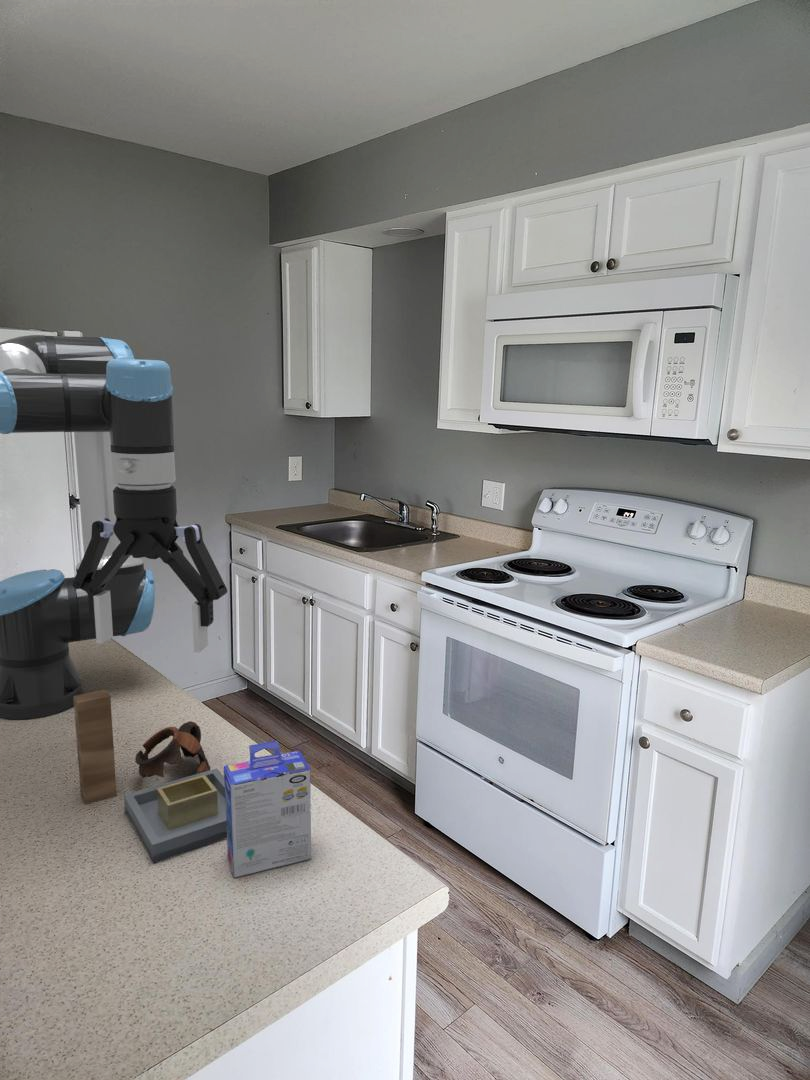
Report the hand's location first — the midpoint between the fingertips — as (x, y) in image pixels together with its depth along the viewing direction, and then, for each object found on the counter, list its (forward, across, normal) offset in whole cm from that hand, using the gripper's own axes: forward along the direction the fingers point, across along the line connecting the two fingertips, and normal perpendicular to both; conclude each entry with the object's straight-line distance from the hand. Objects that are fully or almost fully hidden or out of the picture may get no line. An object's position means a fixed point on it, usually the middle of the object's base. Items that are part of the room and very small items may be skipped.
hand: (152, 644), depth 96 cm
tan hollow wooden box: (+22, +6, -3) cm, 23 cm away
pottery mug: (+24, -1, +8) cm, 25 cm away
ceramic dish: (+23, +6, -3) cm, 24 cm away
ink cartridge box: (+23, +19, -8) cm, 31 cm away
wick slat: (+23, -9, 0) cm, 25 cm away
